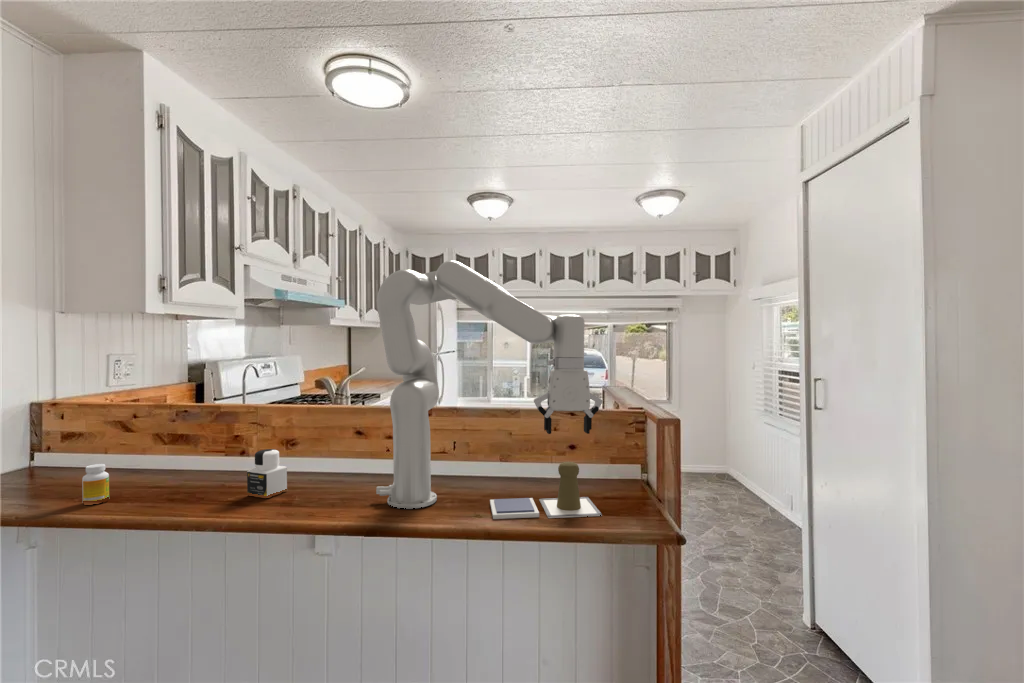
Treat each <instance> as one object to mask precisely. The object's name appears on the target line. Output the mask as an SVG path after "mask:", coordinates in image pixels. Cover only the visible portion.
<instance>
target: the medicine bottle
mask: <svg viewBox="0 0 1024 683" xmlns="http://www.w3.org/2000/svg"><path fill="white" fill-rule="evenodd" d="M287 468H288V467H287V466H284V465H280V451H279V450H278V449H274V448H268V449H267V448H265V449H261V450H258V451H257V452H255V453H254V468H251V469H248V470H247V471H246V474H247V475H246V477H247V478H246V479H247V480H246V484H247V486H246V487H247V488H246V490H247V493H252V494H258V495H264V496H268V495H270V494H273V493H276V492H280V491H282V490H285V489H287V490H288V474H287V473H288V470H287Z"/></svg>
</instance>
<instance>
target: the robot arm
mask: <svg viewBox="0 0 1024 683" xmlns="http://www.w3.org/2000/svg"><path fill="white" fill-rule="evenodd" d="M451 299H455V300H458V301H460V302H462V303H463V304H464V305H466V306H468V307H469V308H471V309H472V310H475V311H476V312H477V313H479V314H481V315H483V316H484V317H485V318H487V319H489V320H491V321H493V322H495V323H497V324H499V325H500V326H501V327H503V328H505V329H507V330H508V331H510V332H511V333H513V334H515V335H517V337H520V338H521V339H523V340H524V341H526V342H528V343H530V344H533V345H541V344H547V343H553V357H552V358H551V359H547V365H548V366H551V367H552V369H550V374H549V378H548V386H547V392H544V394H541V395H539V396H537V397H536V398H534V399H533V403H534V405H535V407H536V409H537V411H539V413H541V415H542V416H543V419H544V420H543V422H544V423H543V424H544V426H543V427H544V428H543V430H544V431H546V433H547V434H548V435H551V434H552V421H553V420H552V417H551V415H552V414H553V413H554V412H575V411H576V412H580V411H581V412H583V413H584V414H585V415H584V416H583V432H584V433H585V434H590V431H591V430H592V425H593V423H592V421H593V419H592V418H594V416H595V415H596V414H597V412H598V411H600V410H599V409H600V408H601V406H602V404H603V401H604V400H603V399H601V398H600V397H599V396H596V395H594V394H592V393H591V391H590V390H591V389H590V380H589V379H590V378H589V374H588V370H586V369H585V325H586V324H585V318H584V317H583V316H582V315H577V314H560V315H557V316H556V315H547V314H543V313H542V312H540V311H538V310H537V309H535V308H534V307H532V306H529V305H528V304H526V303H524V301H522V300H520V299H518V298H517V297H515V296H513V295H512V294H510V293H509V292H508V291H507V290H506V289H505V288H504V287H503V286H501V285H499V284H498V283H495V282H494V281H493V280H490V279H489V278H487V277H486V276H483V275H482V274H480V273H479V272H477V271H476V270H474V269H472V268H471V267H469V266H467V265H465V264H463V263H462V262H460V261H457V260H446V261H444V262H442V263H441V264H440V265H439V266H438V267H437V270H435V271H430V272H425V273H420V272H418V271H416V270H413V269H405V268H403V269H399V270H395V271H394V272H392V273H391V274H389V275H388V276H387V277H386V278H385V279H384V280H383V281H382V283H381V284H380V286H379V288H378V292H377V296H376V308H377V314H378V319H379V323H380V329H381V335H382V340H383V346H384V347H383V348H384V352H385V357H386V363H387V366H388V368H389V370H390V371H391V372H392V373H393V374H395V375H398V376H402V380H403V382H401V383H399V384H398V385H396V387H395V388H394V389H393V390H392V392H391V395H390V398H389V399H390V401H389V408H390V413H391V421H392V445H393V456H392V458H393V459H392V460H393V483H392V484H389V485H388V486H385V485H384V486H383V485H381V486H379V485H378V486H376V487H375V488H376V490H375V491H376V492H375V493H376V495H379V496H380V497H384V496H388V497H387V505H388V506H390V505H391V506H390V507H392V506H393V507H392V508H394V507H397V508H396V509H400V508H404V509H403V510H413V508H415V509H422V508H425V507H426V508H427V507H429V506H432V505H433V504H435V503H436V502H437V500H438V495H437V493H435V492H434V491H432V486H431V484H432V480H431V478H432V476H431V473H432V471H431V470H432V468H431V467H432V465H431V463H432V460H431V458H432V456H431V454H432V453H431V450H432V449H431V424H430V417H429V411H430V410H431V409H433V408H434V407H435V406H436V405H437V403H438V401H439V395H440V391H439V390H440V389H439V383H438V379H437V378H438V377H437V373H436V368H435V363H434V358H433V354H432V351H431V348H430V347H429V346H428V345H427V344H426V343H425V342H424V341H422V340H421V339H418V337H417V332H416V326H415V322H414V318H413V315H412V313H411V308H410V307H411V305H416V306H423V305H428V304H433V303H436V302H442V301H447V300H451ZM545 400H546V401H547V402H546V403H547V407H546V409H545V408H544V407H543V406H542V402H544V401H545ZM591 401H593V402H594V404H593V406H592V407H591ZM590 407H591V408H590ZM421 507H422V508H421ZM405 508H406V509H405Z"/></svg>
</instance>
